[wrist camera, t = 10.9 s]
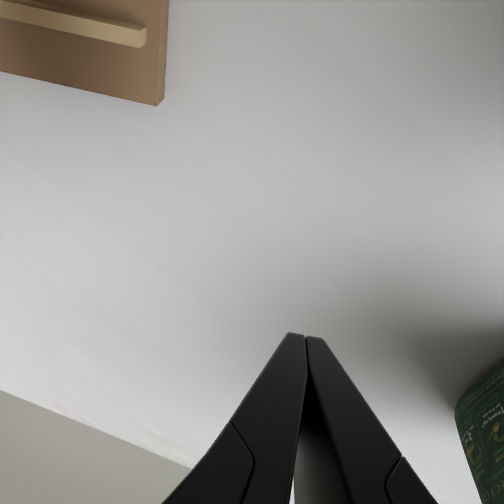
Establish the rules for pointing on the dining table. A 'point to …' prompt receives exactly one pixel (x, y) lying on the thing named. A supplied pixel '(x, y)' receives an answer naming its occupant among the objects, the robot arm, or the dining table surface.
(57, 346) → the dining table surface
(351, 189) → the dining table surface
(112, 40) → the trammel board
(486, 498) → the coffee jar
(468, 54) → the dining table surface
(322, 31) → the dining table surface
